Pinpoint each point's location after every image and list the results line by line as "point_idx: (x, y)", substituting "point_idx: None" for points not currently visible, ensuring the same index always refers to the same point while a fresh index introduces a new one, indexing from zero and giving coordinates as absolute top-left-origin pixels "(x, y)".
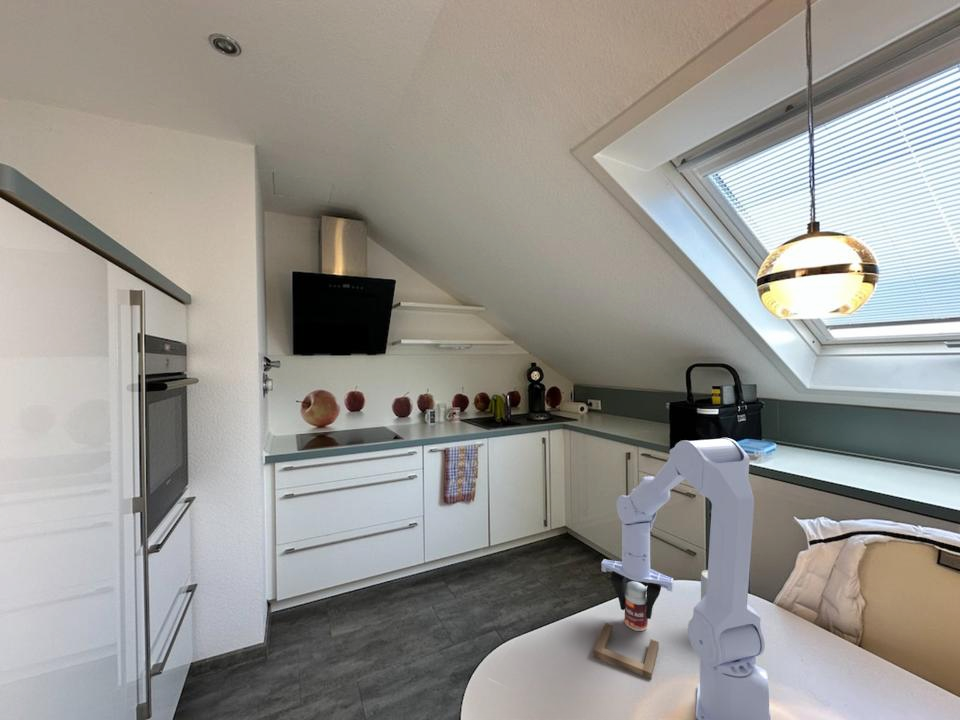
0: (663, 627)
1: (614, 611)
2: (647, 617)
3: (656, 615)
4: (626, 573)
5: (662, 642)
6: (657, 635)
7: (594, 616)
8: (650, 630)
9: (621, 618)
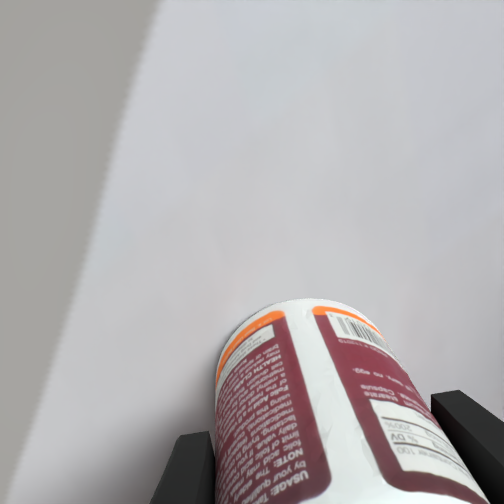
0: (492, 267)
1: (101, 341)
2: None
3: (420, 146)
4: None
5: (497, 413)
6: (460, 376)
7: (23, 481)
8: (408, 361)
9: (186, 379)
